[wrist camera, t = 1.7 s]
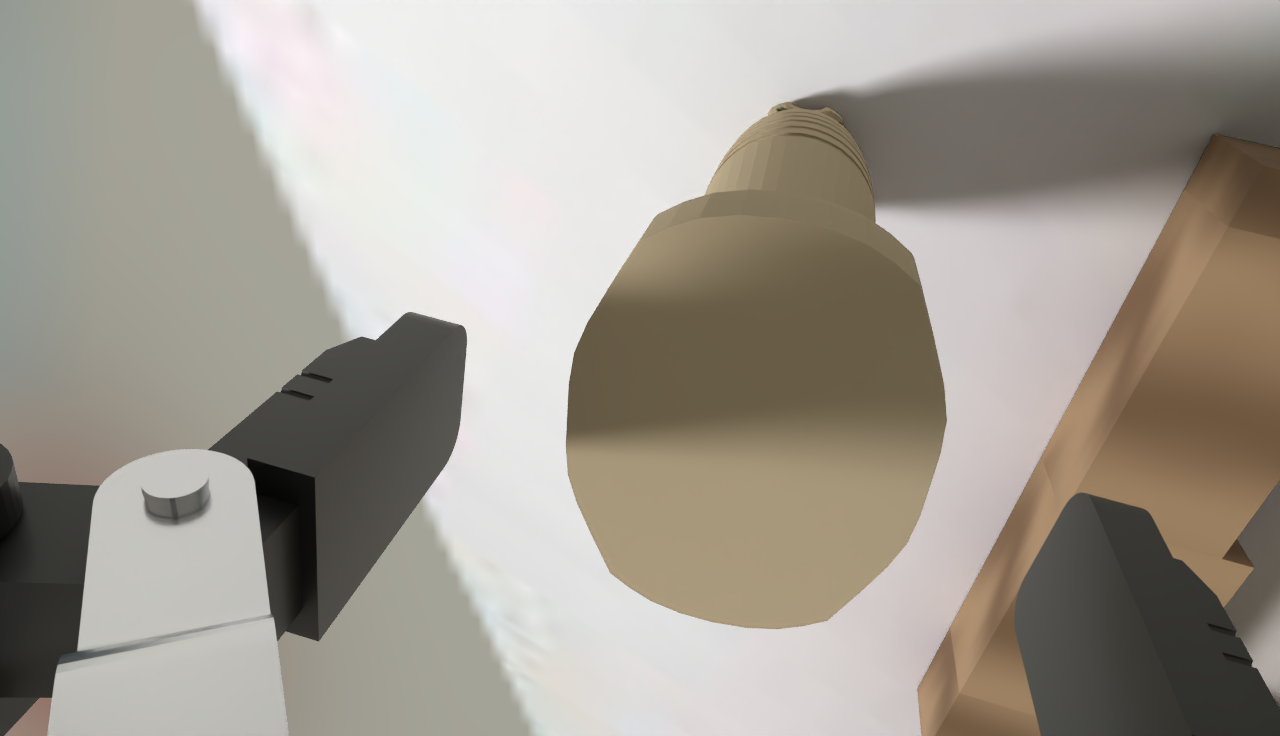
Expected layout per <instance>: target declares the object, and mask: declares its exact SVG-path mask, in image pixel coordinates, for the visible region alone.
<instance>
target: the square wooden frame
mask: <svg viewBox="0 0 1280 736" xmlns="http://www.w3.org/2000/svg"><path fill="white" fill-rule="evenodd" d="M1279 480H1280V148H1276V147H1271V146H1267V145H1262V144H1258V143H1253V142H1249V141H1244V140H1240V139H1236V138H1231V137H1227V136H1222V135H1218V134H1214V135H1213V136H1212V138H1211V140H1210V142H1209V144H1208V146H1207V148H1206V149H1205V151H1204V153H1203V155H1202V157H1201V159H1200V161H1199V163H1198V164H1197V166H1196V168H1195V170H1194V172H1193V174H1192V176H1191V178H1190V179H1189V181H1188V183H1187V185H1186V187H1185V189H1184V191H1183V193H1182V194H1181V196H1180V198H1179V200H1178V202H1177V204H1176V206H1175V208H1174V209H1173V211H1172V213H1171V215H1170V217H1169V219H1168V221H1167V222H1166V224H1165V226H1164V228H1163V230H1162V232H1161V234H1160V236H1159V237H1158V239H1157V241H1156V243H1155V245H1154V247H1153V249H1152V251H1151V252H1150V254H1149V256H1148V258H1147V260H1146V262H1145V264H1144V266H1143V267H1142V269H1141V271H1140V273H1139V275H1138V277H1137V279H1136V281H1135V282H1134V284H1133V286H1132V288H1131V290H1130V292H1129V294H1128V296H1127V297H1126V299H1125V301H1124V303H1123V305H1122V307H1121V309H1120V310H1119V312H1118V314H1117V316H1116V318H1115V320H1114V322H1113V324H1112V325H1111V327H1110V329H1109V331H1108V333H1107V335H1106V337H1105V339H1104V340H1103V342H1102V344H1101V346H1100V348H1099V350H1098V352H1097V354H1096V355H1095V357H1094V359H1093V361H1092V363H1091V365H1090V367H1089V369H1088V370H1087V372H1086V374H1085V376H1084V378H1083V380H1082V382H1081V383H1080V385H1079V387H1078V389H1077V391H1076V393H1075V395H1074V397H1073V398H1072V400H1071V402H1070V404H1069V406H1068V408H1067V410H1066V412H1065V413H1064V415H1063V417H1062V419H1061V421H1060V423H1059V425H1058V427H1057V428H1056V430H1055V432H1054V434H1053V436H1052V438H1051V440H1050V442H1049V443H1048V445H1047V447H1046V449H1045V451H1044V453H1043V455H1042V456H1041V458H1040V460H1039V462H1038V464H1037V466H1036V468H1035V470H1034V471H1033V473H1032V475H1031V477H1030V479H1029V481H1028V483H1027V485H1026V486H1025V488H1024V490H1023V492H1022V494H1021V496H1020V498H1019V500H1018V501H1017V503H1016V505H1015V507H1014V509H1013V511H1012V513H1011V515H1010V516H1009V518H1008V520H1007V522H1006V524H1005V526H1004V528H1003V530H1002V531H1001V533H1000V535H999V537H998V539H997V541H996V543H995V544H994V546H993V548H992V550H991V552H990V554H989V556H988V558H987V559H986V561H985V563H984V565H983V567H982V569H981V571H980V573H979V574H978V576H977V578H976V580H975V582H974V584H973V586H972V588H971V589H970V591H969V593H968V595H967V597H966V599H965V601H964V603H963V604H962V606H961V608H960V610H959V612H958V614H957V616H956V617H955V619H954V621H953V623H952V625H951V627H950V629H949V631H948V632H947V634H946V636H945V638H944V640H943V642H942V644H941V646H940V647H939V649H938V651H937V653H936V655H935V657H934V659H933V661H932V662H931V664H930V666H929V668H928V670H927V672H926V674H925V676H924V677H923V679H922V681H921V683H920V685H919V687H918V689H917V690H918V701H919V712H920V724H921V735H922V736H1041V734H1040V730H1039V726H1038V722H1037V717H1036V713H1035V709H1034V705H1033V701H1032V697H1031V693H1030V689H1029V685H1028V681H1027V676H1026V672H1025V668H1024V664H1023V660H1022V656H1021V652H1020V648H1019V644H1018V639H1017V635H1016V631H1015V623H1014V613H1015V605H1016V599H1017V595H1018V592H1019V588H1020V586H1021V583H1022V581H1023V579H1024V577H1025V576H1026V574H1027V572H1028V570H1029V568H1030V567H1031V565H1032V563H1033V561H1034V560H1035V558H1036V556H1037V554H1038V553H1039V551H1040V549H1041V547H1042V545H1043V544H1044V542H1045V540H1046V538H1047V537H1048V535H1049V533H1050V531H1051V529H1052V528H1053V526H1054V524H1055V522H1056V521H1057V519H1058V517H1059V515H1060V513H1061V512H1062V510H1063V508H1064V507H1065V505H1066V503H1067V502H1068V501H1069V500H1070V498H1072V497H1073V496H1074V495H1075V494H1077V493H1087V494H1091V495H1094V496H1098V497H1102V498H1106V499H1109V500H1113V501H1117V502H1121V503H1125V504H1128V505H1132V506H1136V507H1140V508H1143V509H1145V510H1147V511H1148V512H1149V513H1150V515H1151V516H1152V518H1153V520H1154V522H1155V524H1156V525H1157V527H1158V529H1159V531H1160V533H1161V535H1162V537H1163V539H1164V541H1165V543H1166V545H1167V547H1168V549H1169V551H1170V553H1171V554H1172V556H1173V558H1175V559H1179V560H1182V561H1183V562H1184V563H1185V564H1186V565H1187V566H1188V567H1189V568H1190V569H1191V570H1192V571H1193V572H1194V573H1195V574H1196V575H1197V576H1198V577H1199V578H1200V579H1201V580H1202V581H1203V582H1204V583H1205V584H1206V585H1207V586H1208V587H1209V588H1210V589H1211V590H1212V591H1213V592H1214V593H1215V594H1216V595H1217V597H1218V599H1219V600H1220V602H1221V604H1222V606H1223V608H1224V607H1225V606H1226V604H1227V603H1228V602H1229V600H1230V599H1231V598H1232V597H1233V595H1234V594H1235V593H1236V591H1237V590H1238V589H1239V587H1240V586H1241V585H1242V583H1243V582H1244V581H1245V580H1246V578H1247V577H1248V576H1249V574H1250V573H1251V572H1252V570H1253V569H1254V566H1253V565H1252V563H1251V561H1250V560H1249V558H1248V557H1247V555H1246V553H1245V552H1244V550H1243V548H1242V547H1241V545H1240V544H1239V542H1238V540H1237V538H1238V536H1239V535H1240V533H1241V532H1242V531H1243V529H1244V528H1245V527H1246V525H1247V524H1248V523H1249V521H1250V520H1251V518H1252V517H1253V516H1254V514H1255V513H1256V512H1257V510H1258V509H1259V508H1260V506H1261V505H1262V503H1263V502H1264V501H1265V499H1266V498H1267V497H1268V495H1269V494H1270V492H1271V491H1272V490H1273V488H1274V487H1275V486H1276V484H1277V483H1278V482H1279Z"/></svg>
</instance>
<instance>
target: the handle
mask: <svg viewBox="0 0 1280 736" xmlns="http://www.w3.org/2000/svg"><path fill="white" fill-rule="evenodd" d="M946 421H947V418H946V405H945V392H944V383H943V378H942V373H941V368H940V363H939V359H938V354H937V350H936V345H935V340H934V336H933V331H932V327H931V323H930V319H929V315H928V311H927V307H926V303H925V298H924V294H923V290H922V286H921V282H920V278H919V275H918V271H917V267H916V263H915V259H914V257H913V255H912V253H911V252H910V251H909V250H908V249H907V248H906V247H904V246H903V245H902V244H901V243H900V242H899V241H898V240H897V239H896V238H895V237H894V236H892V235H891V234H890V233H889V232H887V231H886V230H884V229H883V228H881V227H880V226H879V225H877V224H876V223H875V204H874V196H873V190H872V184H871V178H870V174H869V171H868V168H867V165H866V162H865V159H864V157H863V154H862V152H861V150H860V148H859V146H858V145H857V143H856V141H855V139H854V138H853V137H852V135H851V134H850V133H849V132H848V130H847V129H846V128H844V127H843V119H842V117H841V116H840V115H839V114H838V113H837V112H836V111H834V110H832V109H830V108H829V107H825V108H823V109H818V110H809V109H802V108H799V107H797V106H794V105H793V104H792V103H791V102H786V103H782V104H779V105H777V106H774V107H772V109H771V110H770V111H769V113H768V116H766V117H764V118H762V119H761V120H759V121H758V122H756V123H755V124H753V125H752V126H751V127H750V128H749V129H748V130H746V131H745V132H744V133H743V134H742V135H741V136H740V137H739V138H738V140H737V141H736V142H735V143H734V145H733V146H732V147H731V148H730V150H729V151H728V152H727V154H726V155H725V156H724V158H723V160H722V162H721V163H720V165H719V167H718V169H717V170H716V172H715V174H714V176H713V178H712V180H711V182H710V184H709V186H708V188H707V191H706V194H705V196H702V197H698V198H695V199H692V200H689V201H686V202H683V203H681V204H679V205H676V206H674V207H672V208H670V209H668V210H666V211H664V212H662V213H659V214H658V215H657V216H656V217H655V218H654V219H653V221H652V222H651V224H650V225H649V227H648V228H647V230H646V231H645V233H644V234H643V236H642V237H641V239H640V240H639V242H638V243H637V245H636V246H635V248H634V249H633V251H632V252H631V254H630V256H629V257H628V259H627V260H626V262H625V263H624V265H623V266H622V268H621V270H620V271H619V273H618V274H617V276H616V277H615V279H614V280H613V282H612V284H611V285H610V287H609V289H608V290H607V292H606V293H605V295H604V297H603V298H602V300H601V302H600V303H599V305H598V307H597V308H596V310H595V311H594V313H593V315H592V316H591V318H590V320H589V321H588V323H587V325H586V327H585V330H584V332H583V334H582V336H581V339H580V341H579V343H578V346H577V348H576V350H575V352H574V357H573V363H572V369H571V375H570V381H569V394H568V414H567V435H566V453H567V467H568V476H569V479H570V482H571V485H572V489H573V492H574V495H575V498H576V501H577V504H578V506H579V508H580V510H581V513H582V515H583V517H584V519H585V521H586V524H587V526H588V528H589V530H590V532H591V535H592V537H593V539H594V541H595V543H596V545H597V547H598V549H599V551H600V553H601V555H602V557H603V559H604V561H605V563H606V565H607V567H608V569H609V571H610V573H611V574H612V575H614V576H615V577H616V578H618V579H619V580H620V581H621V582H623V583H624V584H625V585H627V586H628V587H629V588H631V589H633V590H634V591H636V592H637V593H639V594H641V595H642V596H644V597H646V598H647V599H649V600H650V601H652V602H655V603H657V604H660V605H662V606H664V607H667V608H669V609H672V610H674V611H677V612H679V613H682V614H686V615H689V616H693V617H696V618H700V619H703V620H707V621H710V622H715V623H721V624H727V625H733V626H739V627H745V628H765V629H781V628H790V627H799V626H805V625H810V624H814V623H819V622H823V621H827V620H829V619H830V618H831V617H832V616H833V615H834V614H835V613H837V612H838V611H839V610H840V609H841V608H842V607H844V606H845V605H846V604H847V603H848V602H849V601H850V600H852V599H853V598H854V597H855V596H856V595H857V594H859V593H860V592H861V591H862V590H863V589H864V588H865V587H866V586H867V585H868V584H870V583H871V582H872V581H873V580H874V579H875V578H876V577H877V576H878V575H879V574H880V573H881V572H882V571H884V570H885V569H886V568H887V567H888V566H889V564H890V563H891V562H892V561H893V560H894V559H895V557H896V556H897V555H898V554H899V553H900V551H901V550H902V549H903V548H904V547H905V545H906V544H907V543H908V540H909V538H910V536H911V534H912V532H913V530H914V528H915V526H916V524H917V521H918V519H919V517H920V515H921V512H922V509H923V506H924V503H925V499H926V496H927V493H928V490H929V487H930V484H931V481H932V478H933V475H934V472H935V469H936V466H937V463H938V460H939V456H940V453H941V448H942V443H943V437H944V432H945V427H946Z"/></svg>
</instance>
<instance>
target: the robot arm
mask: <svg viewBox="0 0 1280 736" xmlns="http://www.w3.org/2000/svg"><path fill="white" fill-rule="evenodd" d="M466 347H467V335H466V330H465V328H464V327H463V326H462V325H458V324H454V323H451V322H447V321H443V320H439V319H436V318H432V317H428V316H424V315H420V314H417V313H413V312H408V313H406V314H404V315H403V316H402V317H401V318H400V319H399V320H398V321H396V322H395V323H394V324H393V325H392V326H391V327H390V328H389V329H388V330H387V331H386V332H384V333H383V334H382V335H381V336H380V337H379V338H378V339H377V340H372V339H369V338H365V337H359V338H357V339H354V340H351V341H349V342H346V343H344V344H341V345H338V346H336V347H333V348H331V349H328V350H326V351H325V352H323V353H322V354H321V355H320V356H319V357H318V358H316V359H315V360H314V361H313V362H312V363H310V364H309V365H308V366H307V367H306V368H305V369H303V370H302V374H301V375H296V376H295V377H294V378H293V379H291V380H290V381H289V382H288V383H287V384H286V385H284V386H283V387H282V391H281V392H276V393H275V394H274V395H273V396H271V397H270V398H269V399H268V400H267V401H265V402H264V403H263V404H262V405H261V406H259V407H258V408H257V409H256V410H255V411H254V412H252V413H251V414H250V415H249V416H248V417H246V418H245V419H244V420H243V421H242V422H241V423H239V424H238V425H237V426H236V427H235V428H233V429H232V430H231V431H230V432H229V433H228V434H226V435H225V436H224V437H223V438H221V439H220V440H219V441H218V442H217V443H216V444H214V445H213V446H212V447H211V448H210V449H208V450H201V449H185V450H184V449H183V450H173V451H167V452H161V453H157V454H153V455H150V456H146V457H144V458H141V459H138V460H136V461H133V462H131V463H129V464H127V465H125V466H124V467H122V468H120V469H119V470H117V471H115V472H114V473H113V474H112V475H111V476H109V477H108V478H107V479H106V480H105V481H104V482H103V483H102V484H101V486H91V485H69V484H48V483H27V482H18V480H17V475H16V471H15V467H14V463H13V459H12V456H11V454H10V453H9V451H8V450H7V449H6V448H5V447H4V446H3V445H2V444H0V736H4V735H5V734H6V733H7V732H8V731H9V730H10V729H11V728H12V727H13V725H14V724H15V723H16V722H17V721H18V720H19V719H20V718H21V717H22V716H23V715H24V714H25V713H26V712H27V710H28V709H29V708H30V707H31V706H32V705H33V704H34V703H35V702H36V701H37V700H38V699H39V698H40V697H42V698H43V697H44V698H48V697H49V698H52V705H51V712H50V719H49V727H48V735H47V736H289V734H288V726H287V718H286V710H285V701H284V694H283V685H282V677H281V669H280V661H279V653H278V646H277V641H278V640H279V639H280V637H281V636H282V635H283V633H284V632H285V631H287V632H290V633H293V634H297V635H300V636H303V637H306V638H309V639H313V640H316V641H319V640H320V639H321V638H322V636H323V635H324V633H325V632H326V631H327V629H328V628H329V627H330V625H331V624H332V622H333V621H334V620H335V618H336V617H337V615H338V614H339V613H340V611H341V610H342V608H343V607H344V606H345V604H346V603H347V602H348V600H349V599H350V597H351V596H352V595H353V593H354V592H355V590H356V589H357V588H358V586H359V585H360V583H361V582H362V581H363V579H364V578H365V577H366V575H367V574H368V572H369V571H370V570H371V568H372V567H373V565H374V564H375V563H376V561H377V560H378V558H379V557H380V556H381V554H382V553H383V552H384V550H385V549H386V547H387V546H388V545H389V543H390V542H391V540H392V539H393V538H394V536H395V535H396V534H397V532H398V531H399V529H400V528H401V527H402V525H403V524H404V522H405V521H406V520H407V518H408V517H409V515H410V514H411V513H412V511H413V510H414V508H415V507H416V506H417V504H418V503H419V502H420V500H421V499H422V497H423V496H424V495H425V493H426V492H427V491H428V489H429V488H430V486H431V485H432V484H433V482H434V481H435V479H436V478H437V477H438V475H439V474H440V472H441V471H442V470H443V468H444V467H445V465H446V464H447V462H448V460H449V458H450V456H451V454H452V451H453V449H454V446H455V443H456V439H457V436H458V431H459V426H460V418H461V406H462V394H463V382H464V371H465V359H466ZM1014 623H1015V631H1016V635H1017V639H1018V644H1019V648H1020V652H1021V656H1022V660H1023V664H1024V668H1025V672H1026V676H1027V681H1028V685H1029V689H1030V693H1031V697H1032V701H1033V705H1034V709H1035V713H1036V717H1037V722H1038V726H1039V730H1040V734H1041V736H1280V709H1279V707H1278V705H1277V704H1276V702H1275V700H1274V698H1273V696H1272V695H1271V693H1270V691H1269V689H1268V687H1267V686H1266V684H1265V682H1264V680H1263V678H1262V677H1261V675H1260V673H1259V671H1258V669H1257V668H1253V667H1252V662H1253V660H1252V658H1251V657H1250V655H1249V653H1248V651H1247V649H1246V648H1245V646H1244V644H1243V642H1242V640H1241V639H1240V638H1238V637H1235V633H1236V629H1235V628H1234V626H1233V624H1232V622H1231V620H1230V619H1229V617H1228V615H1227V613H1226V611H1225V610H1224V608H1223V606H1222V604H1221V602H1220V600H1219V599H1218V597H1217V595H1216V594H1215V593H1214V592H1213V591H1212V590H1211V589H1210V588H1209V587H1208V586H1207V585H1206V584H1205V583H1204V582H1203V581H1202V580H1201V579H1200V578H1199V577H1198V576H1197V575H1196V574H1195V573H1194V572H1193V571H1192V570H1191V569H1190V568H1189V567H1188V566H1187V565H1186V564H1185V563H1184V562H1183V561H1182V560H1179V559H1175V558H1173V556H1172V554H1171V553H1170V551H1169V549H1168V547H1167V545H1166V543H1165V541H1164V539H1163V537H1162V535H1161V533H1160V531H1159V529H1158V527H1157V525H1156V524H1155V522H1154V520H1153V518H1152V516H1151V515H1150V513H1149V512H1148V511H1147V510H1145V509H1143V508H1140V507H1136V506H1132V505H1128V504H1125V503H1121V502H1117V501H1113V500H1109V499H1106V498H1102V497H1098V496H1094V495H1091V494H1087V493H1077V494H1075V495H1074V496H1073V497H1072V498H1070V500H1069V501H1068V502H1067V503H1066V505H1065V507H1064V508H1063V510H1062V512H1061V513H1060V515H1059V517H1058V519H1057V521H1056V522H1055V524H1054V526H1053V528H1052V529H1051V531H1050V533H1049V535H1048V537H1047V538H1046V540H1045V542H1044V544H1043V545H1042V547H1041V549H1040V551H1039V553H1038V554H1037V556H1036V558H1035V560H1034V561H1033V563H1032V565H1031V567H1030V568H1029V570H1028V572H1027V574H1026V576H1025V577H1024V579H1023V581H1022V583H1021V586H1020V588H1019V592H1018V595H1017V599H1016V605H1015V613H1014Z"/></svg>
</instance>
